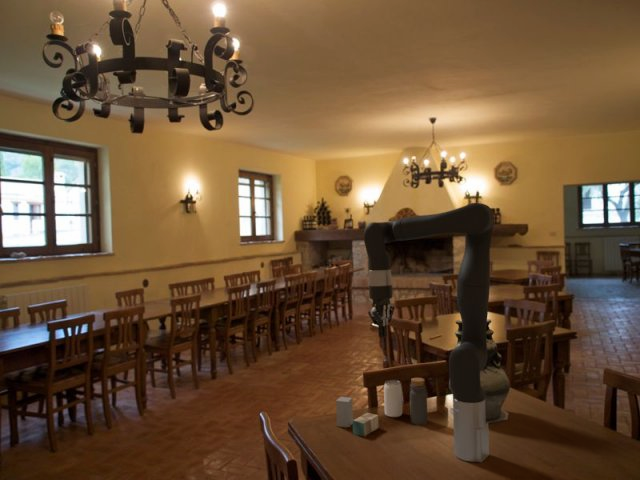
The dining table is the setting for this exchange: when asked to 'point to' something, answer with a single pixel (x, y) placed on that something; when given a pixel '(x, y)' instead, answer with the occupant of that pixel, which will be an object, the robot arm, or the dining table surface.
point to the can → (393, 398)
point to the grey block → (344, 412)
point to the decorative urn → (490, 378)
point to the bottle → (418, 402)
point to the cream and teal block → (365, 424)
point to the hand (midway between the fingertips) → (383, 337)
